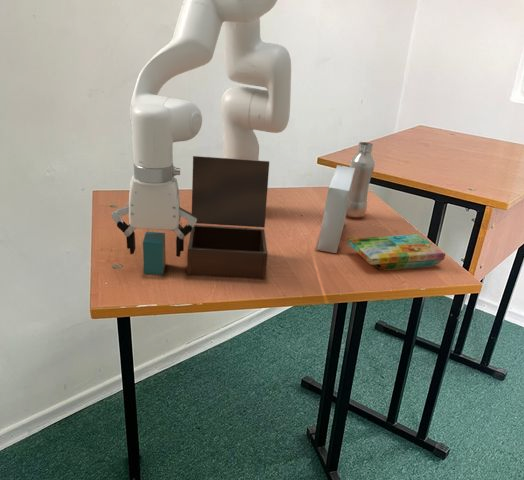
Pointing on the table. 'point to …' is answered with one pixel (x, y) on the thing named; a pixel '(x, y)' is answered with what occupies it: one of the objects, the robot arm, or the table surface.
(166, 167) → the robot arm
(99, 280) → the table surface
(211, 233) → the chest
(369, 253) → the puzzle game
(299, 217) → the table surface
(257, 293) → the table surface
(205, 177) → the lid
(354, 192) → the silver metal bottle
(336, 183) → the skincare box
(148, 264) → the block
